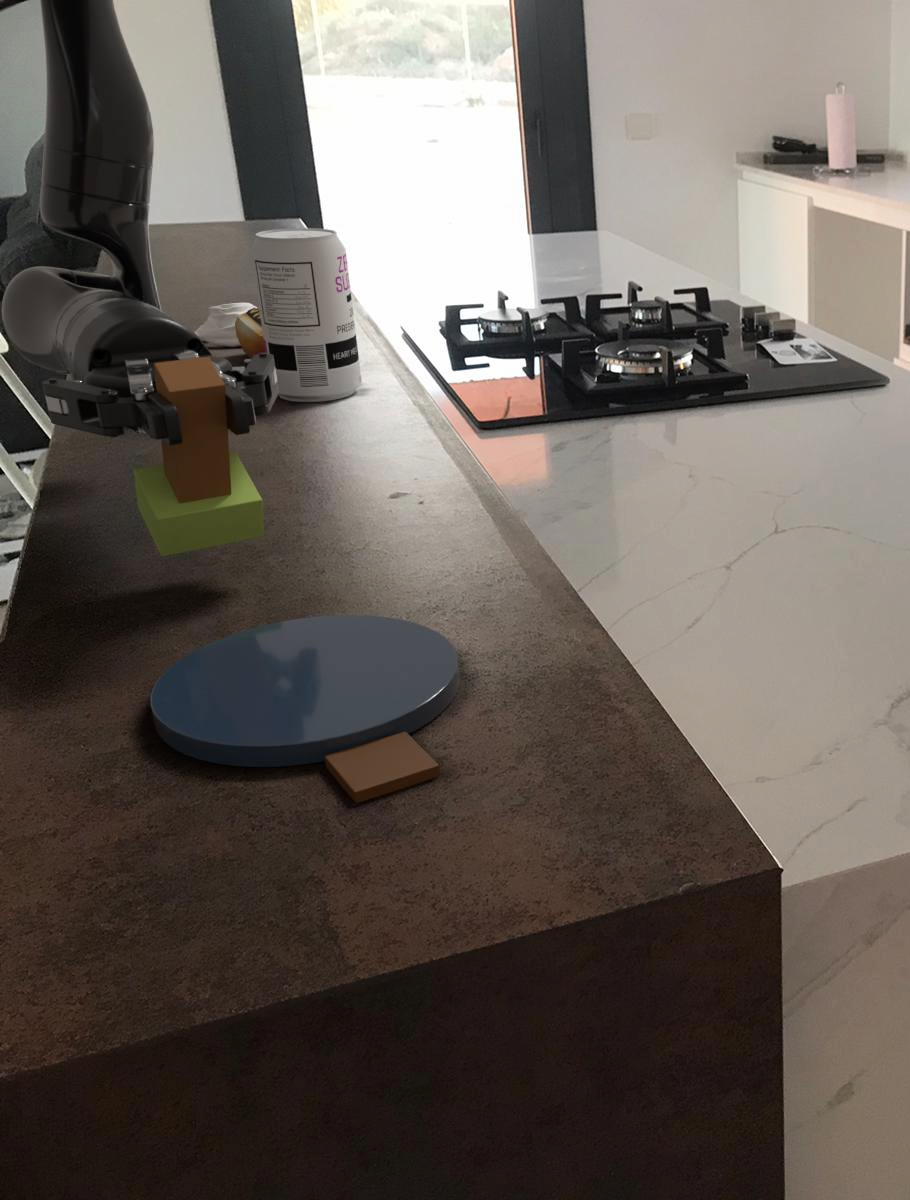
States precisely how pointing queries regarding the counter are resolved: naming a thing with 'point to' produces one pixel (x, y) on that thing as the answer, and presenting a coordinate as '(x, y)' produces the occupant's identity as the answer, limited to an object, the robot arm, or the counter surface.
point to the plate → (304, 689)
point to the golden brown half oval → (250, 332)
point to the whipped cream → (222, 324)
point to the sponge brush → (197, 469)
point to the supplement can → (307, 313)
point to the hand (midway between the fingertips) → (208, 421)
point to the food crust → (381, 766)
